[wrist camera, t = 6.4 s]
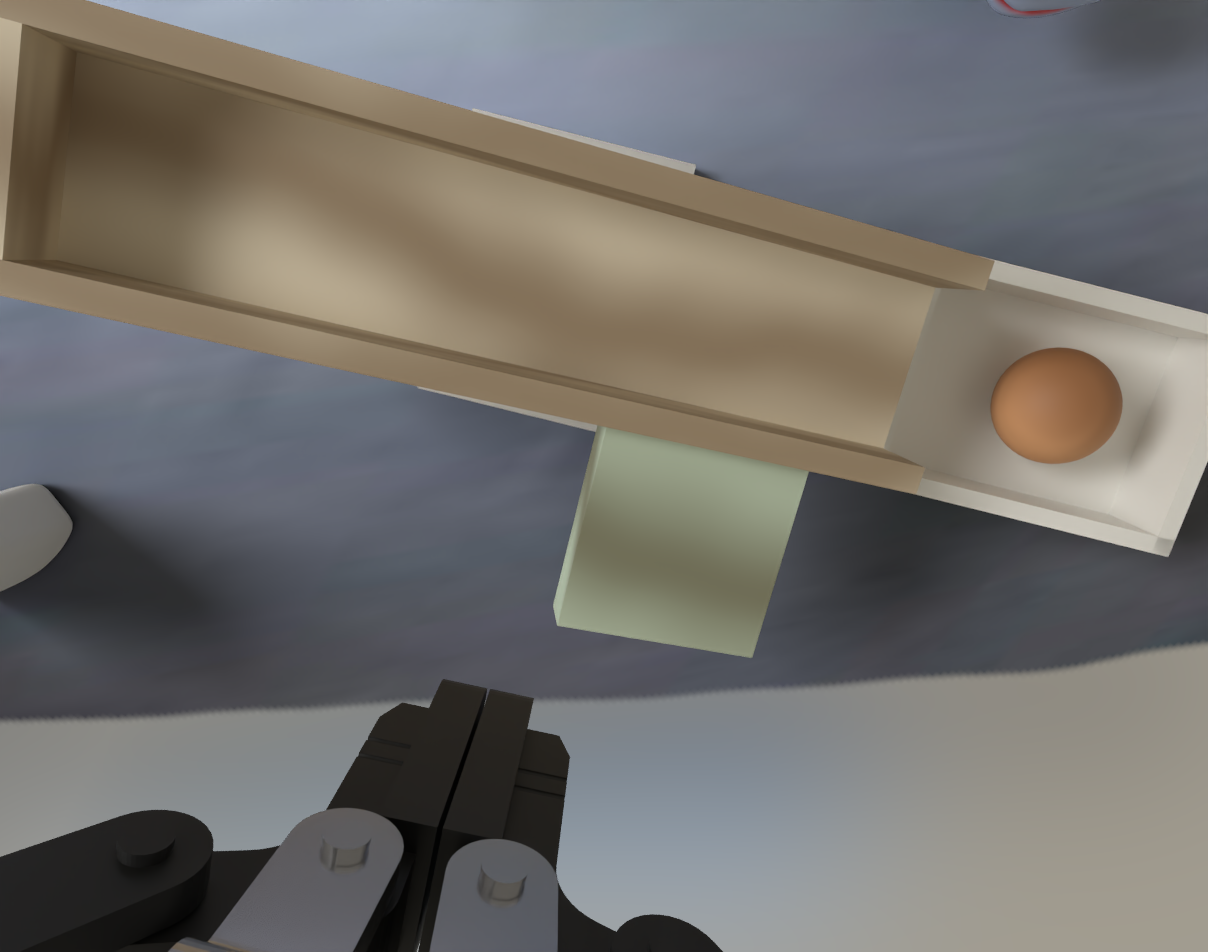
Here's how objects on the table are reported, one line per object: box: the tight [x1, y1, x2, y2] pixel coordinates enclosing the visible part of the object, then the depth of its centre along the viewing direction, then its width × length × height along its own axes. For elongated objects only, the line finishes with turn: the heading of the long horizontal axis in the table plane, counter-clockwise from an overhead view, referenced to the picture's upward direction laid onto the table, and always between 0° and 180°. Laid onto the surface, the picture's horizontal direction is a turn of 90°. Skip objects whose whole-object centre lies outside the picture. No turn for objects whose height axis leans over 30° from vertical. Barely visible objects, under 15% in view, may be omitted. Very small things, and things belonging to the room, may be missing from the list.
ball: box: [990, 347, 1123, 464], centre depth 28 cm, size 4×4×4 cm
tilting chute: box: [0, 0, 995, 658], centre depth 24 cm, size 13×24×6 cm, turn 76°
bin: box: [884, 256, 1208, 557], centre depth 29 cm, size 8×11×4 cm
